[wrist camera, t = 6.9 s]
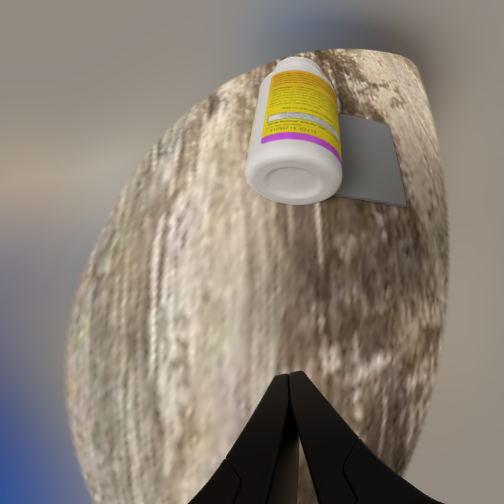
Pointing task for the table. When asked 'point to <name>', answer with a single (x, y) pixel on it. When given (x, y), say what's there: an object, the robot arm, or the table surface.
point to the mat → (369, 162)
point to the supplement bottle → (295, 136)
